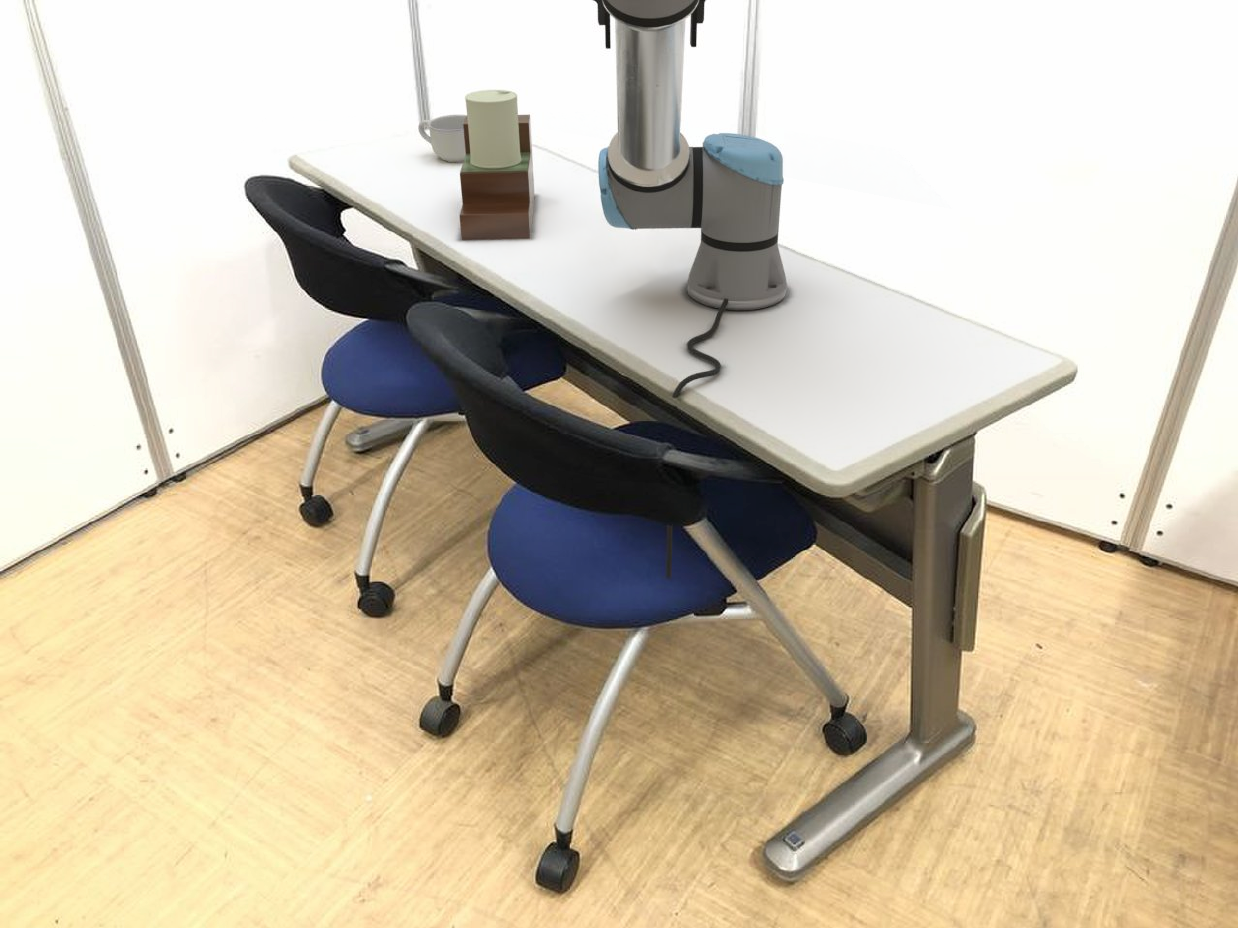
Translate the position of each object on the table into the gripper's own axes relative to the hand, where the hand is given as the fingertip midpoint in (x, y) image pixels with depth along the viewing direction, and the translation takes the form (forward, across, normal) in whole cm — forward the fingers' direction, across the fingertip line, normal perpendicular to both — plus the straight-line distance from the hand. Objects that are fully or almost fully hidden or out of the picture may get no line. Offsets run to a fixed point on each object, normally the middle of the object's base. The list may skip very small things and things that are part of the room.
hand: (650, 46), depth 167 cm
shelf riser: (+32, +27, -13) cm, 44 cm away
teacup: (+32, +40, -53) cm, 74 cm away
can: (+22, +27, -13) cm, 37 cm away
